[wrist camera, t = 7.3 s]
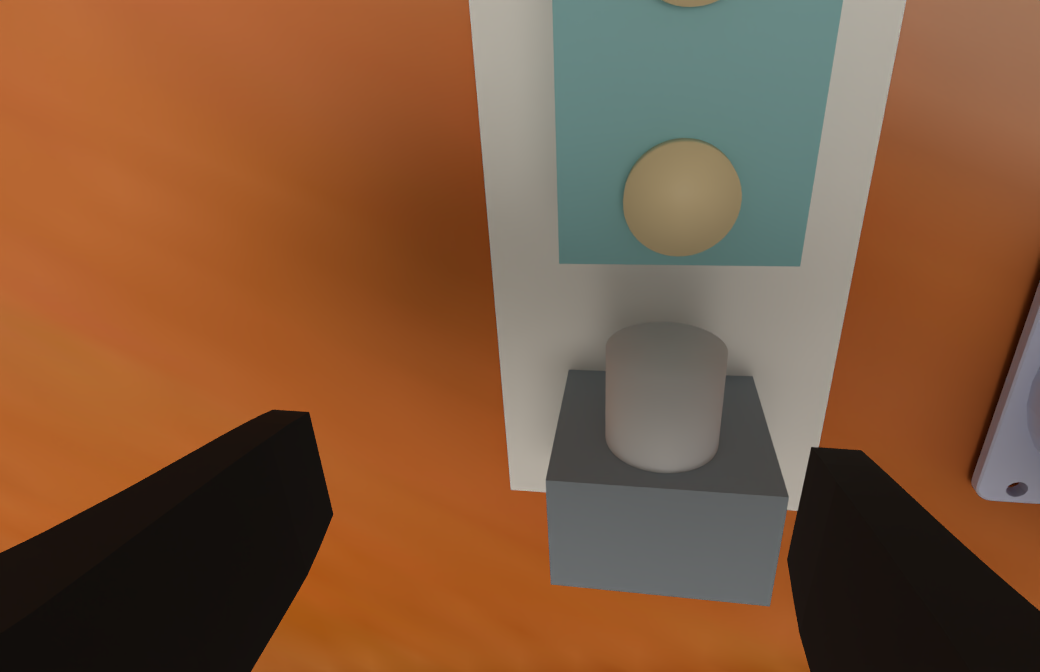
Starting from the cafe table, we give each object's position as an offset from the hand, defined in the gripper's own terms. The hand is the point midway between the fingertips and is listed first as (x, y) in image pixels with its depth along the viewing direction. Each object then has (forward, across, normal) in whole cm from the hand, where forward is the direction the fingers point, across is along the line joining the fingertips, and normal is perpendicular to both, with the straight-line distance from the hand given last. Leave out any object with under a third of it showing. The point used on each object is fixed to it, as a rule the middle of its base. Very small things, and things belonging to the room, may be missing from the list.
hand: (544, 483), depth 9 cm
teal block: (+8, -2, -5) cm, 10 cm away
